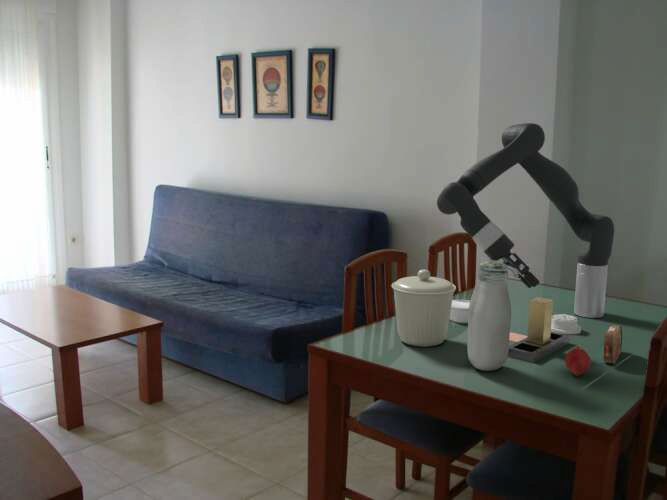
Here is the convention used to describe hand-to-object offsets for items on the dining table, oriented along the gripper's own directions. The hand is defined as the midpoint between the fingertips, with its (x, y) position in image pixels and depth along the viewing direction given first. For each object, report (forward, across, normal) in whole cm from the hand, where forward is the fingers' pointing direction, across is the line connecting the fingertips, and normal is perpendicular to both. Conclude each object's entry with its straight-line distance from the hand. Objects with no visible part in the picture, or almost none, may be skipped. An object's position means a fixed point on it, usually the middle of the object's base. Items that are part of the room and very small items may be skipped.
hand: (534, 285), depth 174 cm
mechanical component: (+18, +25, 0) cm, 31 cm away
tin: (+28, +2, -2) cm, 28 cm away
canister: (-8, +7, +34) cm, 35 cm away
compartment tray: (+14, +5, +11) cm, 18 cm away
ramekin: (-4, +31, +20) cm, 37 cm away
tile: (+9, +14, +13) cm, 21 cm away
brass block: (+14, +5, +11) cm, 18 cm away
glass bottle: (+7, -12, +25) cm, 28 cm away
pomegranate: (+22, -12, +10) cm, 27 cm away
